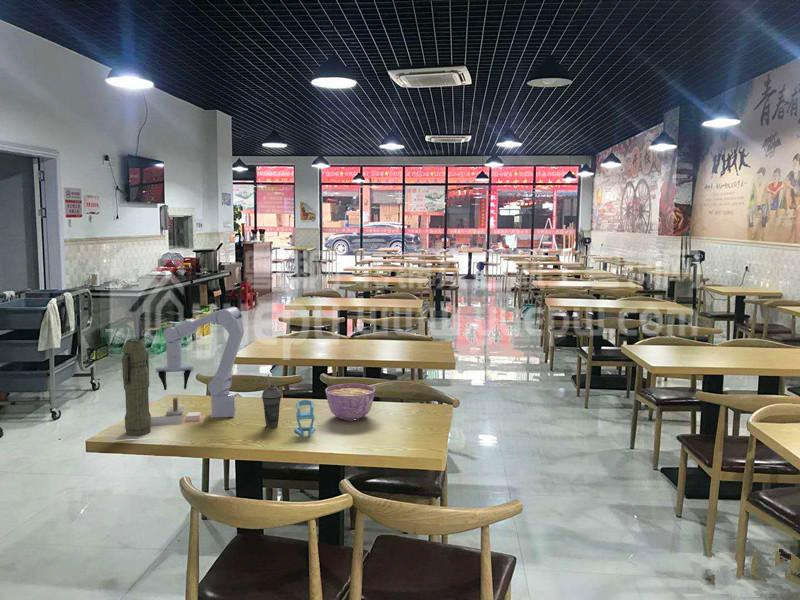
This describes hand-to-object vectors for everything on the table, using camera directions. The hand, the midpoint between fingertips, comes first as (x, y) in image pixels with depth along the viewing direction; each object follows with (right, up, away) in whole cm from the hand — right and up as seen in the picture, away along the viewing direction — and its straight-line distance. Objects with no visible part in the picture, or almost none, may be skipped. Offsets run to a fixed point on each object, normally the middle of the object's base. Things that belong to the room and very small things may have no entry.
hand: (175, 389), depth 266 cm
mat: (+3, -11, -10) cm, 16 cm away
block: (+10, -11, -9) cm, 17 cm away
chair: (+56, -13, -23) cm, 62 cm away
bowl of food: (+72, -11, -4) cm, 73 cm away
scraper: (0, -10, +1) cm, 10 cm away
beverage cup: (+42, -12, -15) cm, 47 cm away
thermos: (-5, -13, -25) cm, 29 cm away
